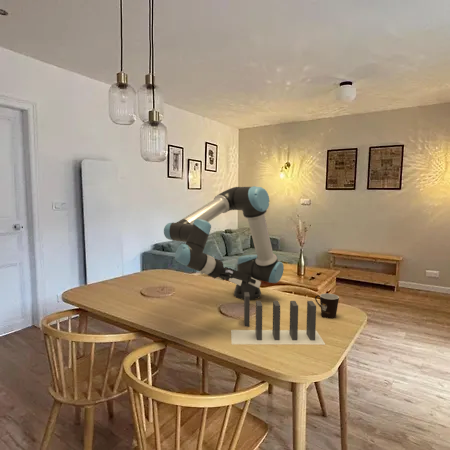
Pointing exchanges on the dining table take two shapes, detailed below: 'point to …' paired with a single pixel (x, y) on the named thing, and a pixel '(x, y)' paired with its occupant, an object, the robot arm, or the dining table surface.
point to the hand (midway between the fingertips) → (250, 283)
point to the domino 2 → (258, 320)
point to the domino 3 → (276, 320)
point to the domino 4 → (293, 320)
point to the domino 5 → (311, 320)
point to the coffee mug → (328, 305)
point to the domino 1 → (246, 309)
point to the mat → (268, 338)
